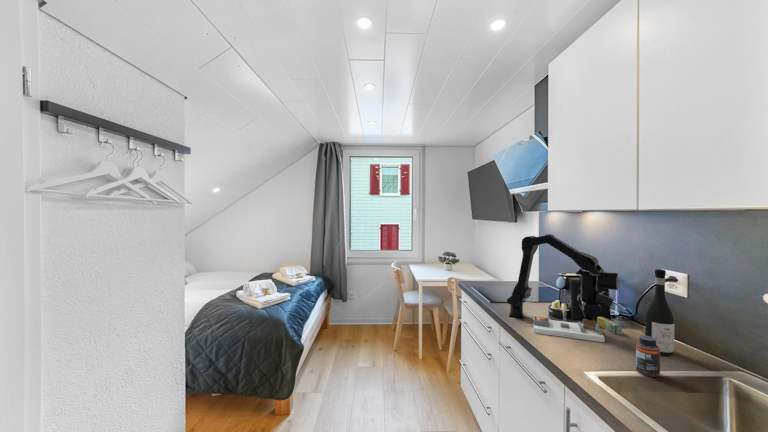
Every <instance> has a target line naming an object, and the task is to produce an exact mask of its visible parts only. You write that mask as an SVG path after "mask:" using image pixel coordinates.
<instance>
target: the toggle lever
mask: <svg viewBox="0 0 768 432" xmlns="http://www.w3.org/2000/svg"><path fill="white" fill-rule="evenodd" d="M567 314H568V313H567V311H565V310H563V311H561V315H562V321H563V322H567Z"/></svg>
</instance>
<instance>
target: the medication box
mask: <svg viewBox="0 0 768 432" xmlns="http://www.w3.org/2000/svg"><path fill="white" fill-rule="evenodd" d="M596 324H598V325H599V327H600V328H601V329H605V330H606V331H608V332H610V333H612V334H614V335H617V336H618V335H619V336H620V335H622V333H623V332H622V330H623V328H622V327H623V326H622V325H621V324H619V323H617V322H615V321H612V320H610V319H609V318H606V317H604V316H597V317H596Z"/></svg>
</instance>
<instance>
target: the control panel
mask: <svg viewBox="0 0 768 432" xmlns="http://www.w3.org/2000/svg"><path fill="white" fill-rule="evenodd" d="M536 317H537V316H533V333H534V334H540V335H541V334H542V335H548V336H556V337H563V338H569V339H576V340H584V341H585V340H586V341H592V342H600V343H605V336H604V334H603V331H602V328H601V327H600V326H599V325H598V324H597V323H596V330H592V329H584V328H583V323H582V322H581V321H577V322H569V321H563V320H554V319H552V320H551V319H549V317H545V318H546V321H538V320H536Z"/></svg>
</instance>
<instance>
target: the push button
mask: <svg viewBox="0 0 768 432" xmlns="http://www.w3.org/2000/svg"><path fill="white" fill-rule="evenodd" d="M546 318H547V317H543V316H536V320H538V321H546Z"/></svg>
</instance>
